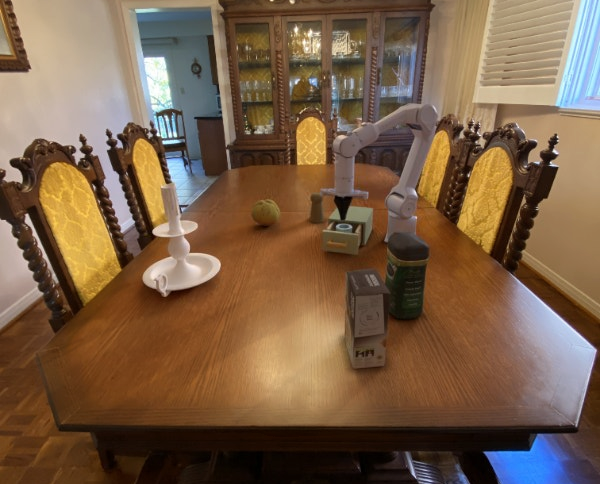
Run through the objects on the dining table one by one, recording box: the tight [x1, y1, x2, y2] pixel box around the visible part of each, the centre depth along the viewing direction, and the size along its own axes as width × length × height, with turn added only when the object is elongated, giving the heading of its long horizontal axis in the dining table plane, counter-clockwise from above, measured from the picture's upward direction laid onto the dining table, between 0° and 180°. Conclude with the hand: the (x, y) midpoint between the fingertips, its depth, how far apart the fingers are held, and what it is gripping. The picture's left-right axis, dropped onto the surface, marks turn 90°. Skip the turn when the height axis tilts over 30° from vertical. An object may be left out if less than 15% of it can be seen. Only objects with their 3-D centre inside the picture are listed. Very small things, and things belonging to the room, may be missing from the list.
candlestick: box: [141, 182, 221, 298], centre depth 90 cm, size 21×25×28 cm
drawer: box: [321, 221, 363, 256], centre depth 111 cm, size 18×11×7 cm, turn 160°
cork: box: [309, 192, 326, 224], centre depth 136 cm, size 6×6×11 cm
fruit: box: [250, 199, 281, 227], centre depth 132 cm, size 11×12×10 cm
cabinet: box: [327, 205, 374, 247], centre depth 121 cm, size 15×13×8 cm
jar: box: [336, 224, 352, 233], centre depth 112 cm, size 5×5×6 cm
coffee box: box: [343, 268, 390, 369], centre depth 66 cm, size 9×6×16 cm
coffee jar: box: [384, 231, 430, 320], centre depth 78 cm, size 10×8×19 cm
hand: (343, 219), depth 109 cm, fingers closed
